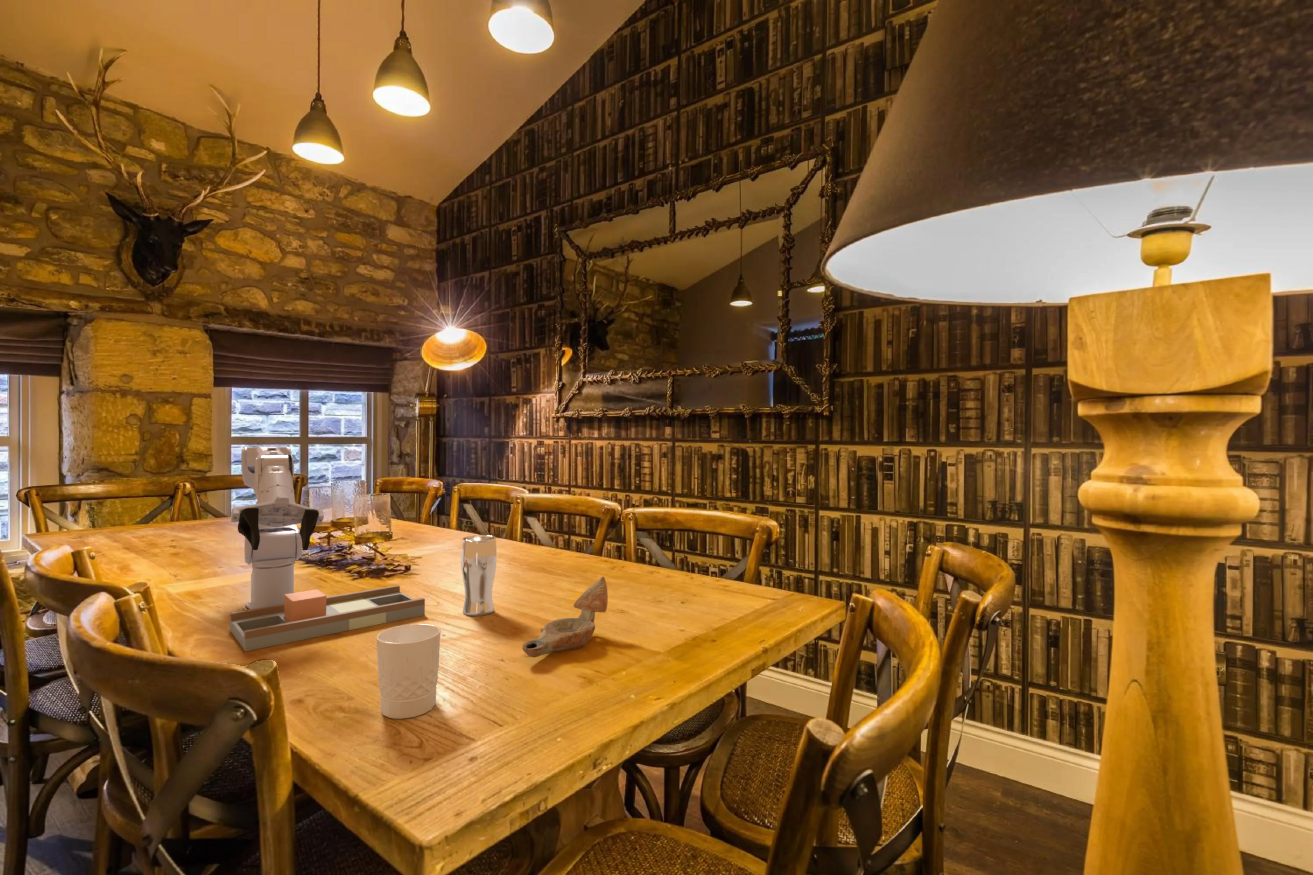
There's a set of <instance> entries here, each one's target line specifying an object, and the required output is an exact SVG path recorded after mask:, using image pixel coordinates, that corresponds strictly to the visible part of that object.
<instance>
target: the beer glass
mask: <svg viewBox="0 0 1313 875" xmlns="http://www.w3.org/2000/svg"><path fill="white" fill-rule="evenodd" d="M461 539H462V540H461V549H460V551H461V552H460V567H461V575H462V581H463V587H464V602H463V608H462V613H463V615H465V616H469V617H481V616H482V617H483V616H487V615H490V614H492V613H494V611H495V606H494V600H493V588H494V581H495V577H496V576H495V575H496V570H497V554H498V552H497V540H496V539H497V538H496V536H495V535H488V534H485V535H483V534H482V535H481V534H480V535H476V534H475V535H470V536H469V535H468V536H464V537H462V538H461Z"/></svg>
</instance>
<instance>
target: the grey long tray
mask: <svg viewBox="0 0 1313 875" xmlns="http://www.w3.org/2000/svg"><path fill="white" fill-rule="evenodd" d="M400 590H401V587H400V585H398V584H395V585H391V586H384V587H378V588H372V589H368V590H367V589H366V590H361V591H355V592H354V591H353V592H348V593H343V594H336V595H329V596H326V616H321V617H316V618H310V619H305V620H299V621H294V622H290V621H289V620H288V619H287V618H286V617H285V616H284V604H281V605H275V606H269V607H263V608H257V609H247V610H246V609H245V610H240V611H234V612H232V611H231V612H230V613H229V631H230V632H231V634H232V635H233V636H234V638H235V640H236V641H237V642H238V643H239V645H240V646H241V648H242V649H243V650H244V651H245V652H249V651H254V650H259V649H264V648H268V647H274V646H278V645H283V644H287V643H294V642H299V641H302V640H308V639H313V638H317V637H318V638H319V637H324V636H328V635H332V634H337V633H343V632H347V631H352V630H356V629H362V628H367V627H371V626H372V627H373V626H376V625H383V624H387V623H393V622H396V621H397V622H398V621H400V620H405V619H406V620H407V619H411V618H417V617H421V616H425V614H426V612H425V611H426V610H425V609H426V608H425V607H426V606H425V605H426V604H425V603H426V602H425V601H426V599H425V598H424V597H420V598H413V597H410V596H408V595H407V594H405V593H403V592H401V591H400Z"/></svg>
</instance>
